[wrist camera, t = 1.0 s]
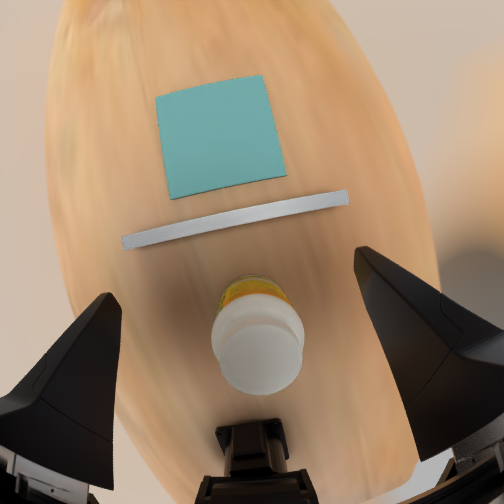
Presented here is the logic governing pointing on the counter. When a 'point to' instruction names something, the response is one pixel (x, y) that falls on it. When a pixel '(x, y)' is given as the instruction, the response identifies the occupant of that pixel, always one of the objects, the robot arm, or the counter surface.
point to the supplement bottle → (257, 336)
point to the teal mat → (218, 136)
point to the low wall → (235, 218)
